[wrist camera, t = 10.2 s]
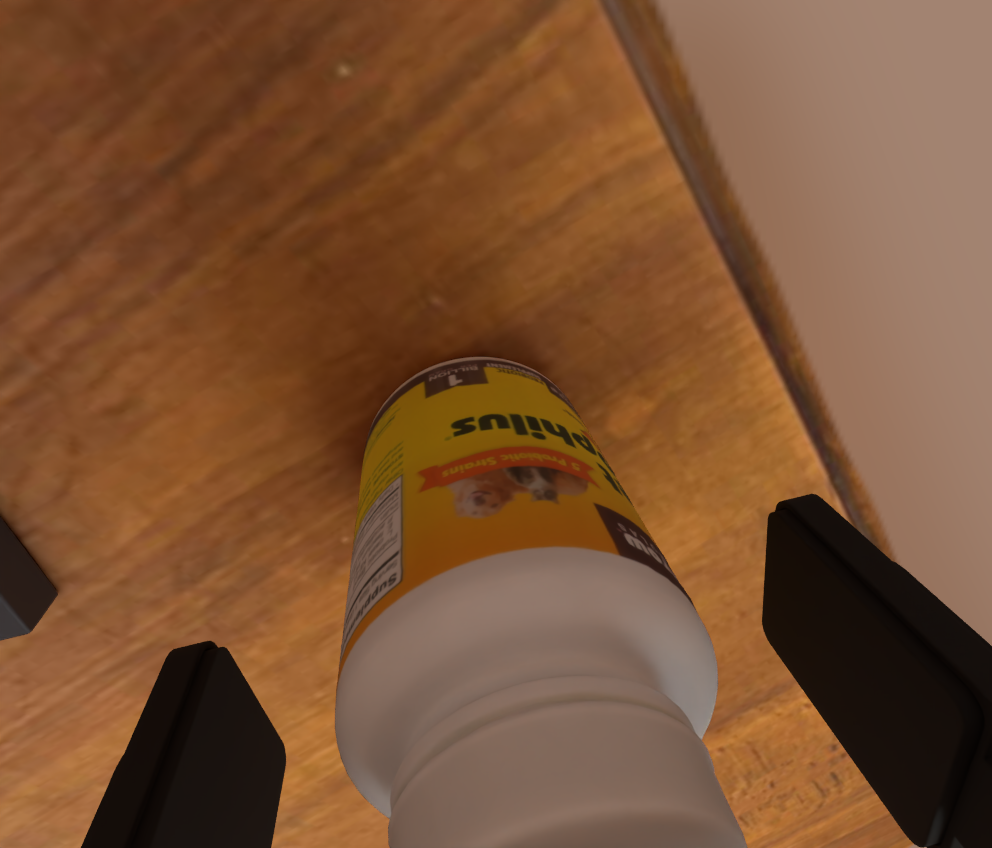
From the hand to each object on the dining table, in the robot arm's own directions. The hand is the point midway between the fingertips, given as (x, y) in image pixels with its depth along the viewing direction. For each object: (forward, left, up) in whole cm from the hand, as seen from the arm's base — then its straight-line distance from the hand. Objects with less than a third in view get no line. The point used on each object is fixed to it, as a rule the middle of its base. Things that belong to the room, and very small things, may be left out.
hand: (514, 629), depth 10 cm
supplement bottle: (0, 0, -6) cm, 6 cm away
